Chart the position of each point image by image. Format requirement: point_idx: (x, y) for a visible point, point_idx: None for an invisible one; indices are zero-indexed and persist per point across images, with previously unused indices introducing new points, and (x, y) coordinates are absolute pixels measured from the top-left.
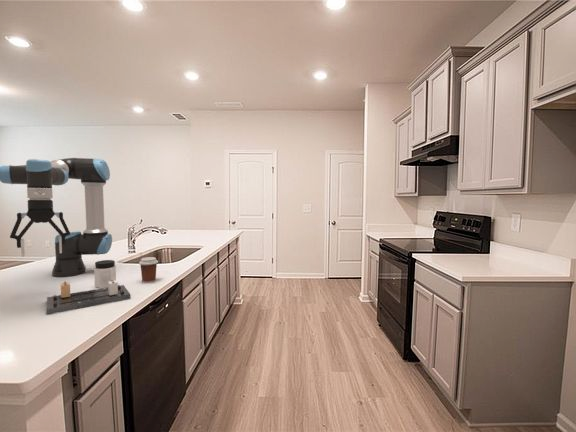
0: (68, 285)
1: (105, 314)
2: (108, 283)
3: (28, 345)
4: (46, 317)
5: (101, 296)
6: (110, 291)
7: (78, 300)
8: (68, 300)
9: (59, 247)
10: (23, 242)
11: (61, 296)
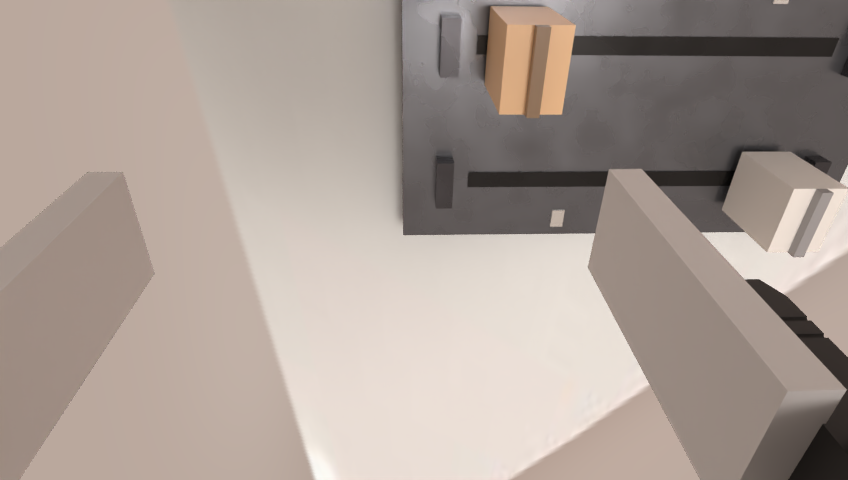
0: (549, 112)
1: (612, 348)
2: (779, 206)
3: (362, 450)
4: (402, 255)
5: (684, 182)
6: (740, 221)
7: (561, 182)
8: (515, 143)
9: (622, 330)
10: (21, 470)
11: (487, 86)
